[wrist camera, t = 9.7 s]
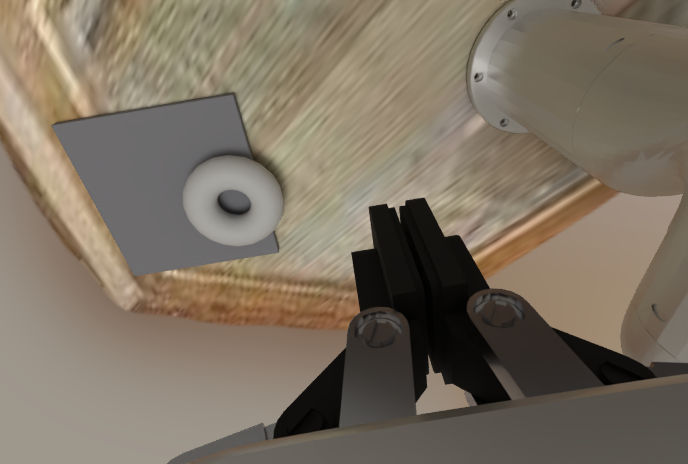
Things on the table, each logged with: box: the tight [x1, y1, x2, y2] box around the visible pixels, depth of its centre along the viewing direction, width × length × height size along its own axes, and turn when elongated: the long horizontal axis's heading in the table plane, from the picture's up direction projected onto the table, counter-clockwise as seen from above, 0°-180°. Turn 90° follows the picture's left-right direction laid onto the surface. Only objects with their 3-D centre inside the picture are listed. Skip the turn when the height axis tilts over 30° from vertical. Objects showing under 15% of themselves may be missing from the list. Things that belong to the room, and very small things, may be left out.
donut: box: [183, 155, 284, 246], centre depth 41 cm, size 10×3×10 cm
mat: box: [51, 93, 279, 276], centre depth 42 cm, size 17×18×1 cm
